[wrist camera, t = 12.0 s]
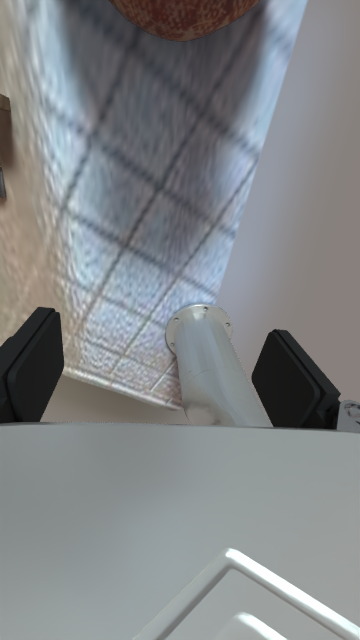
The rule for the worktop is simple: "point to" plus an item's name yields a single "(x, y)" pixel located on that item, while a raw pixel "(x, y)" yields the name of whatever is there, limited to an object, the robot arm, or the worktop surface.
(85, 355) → the worktop surface
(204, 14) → the jug
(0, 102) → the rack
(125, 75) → the worktop surface
